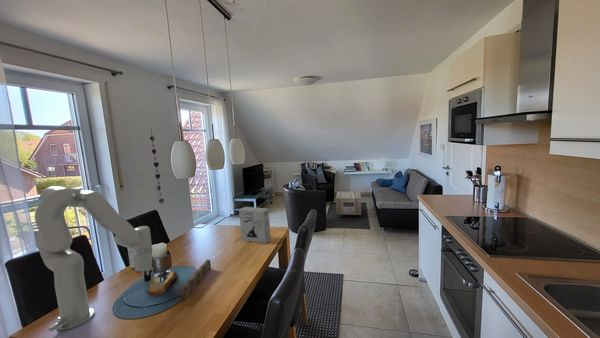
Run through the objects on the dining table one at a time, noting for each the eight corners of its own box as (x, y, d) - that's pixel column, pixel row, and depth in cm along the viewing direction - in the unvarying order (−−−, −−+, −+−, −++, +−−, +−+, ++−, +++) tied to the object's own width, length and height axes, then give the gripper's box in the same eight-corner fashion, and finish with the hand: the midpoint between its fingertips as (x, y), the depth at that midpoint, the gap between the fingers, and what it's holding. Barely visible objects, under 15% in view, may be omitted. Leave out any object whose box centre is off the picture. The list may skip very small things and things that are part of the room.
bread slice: (154, 298, 124) (154, 291, 124) (138, 287, 134) (137, 281, 134) (188, 280, 139) (187, 274, 138) (170, 272, 149) (170, 266, 148)
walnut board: (184, 301, 120) (182, 289, 119) (180, 301, 120) (179, 289, 119) (211, 269, 149) (210, 259, 149) (207, 269, 150) (206, 259, 149)
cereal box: (241, 241, 190) (238, 209, 188) (247, 237, 197) (244, 206, 195) (265, 244, 182) (263, 211, 179) (270, 240, 189) (268, 208, 186)
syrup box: (137, 268, 155) (134, 246, 154) (129, 267, 156) (126, 246, 155) (145, 263, 161) (142, 242, 159) (137, 263, 162) (134, 242, 160)
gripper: (125, 252, 132) (130, 284, 134) (152, 251, 130) (156, 284, 133) (136, 246, 139) (140, 277, 141) (161, 245, 138) (165, 276, 140)
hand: (148, 280), depth 137 cm, fingers closed
